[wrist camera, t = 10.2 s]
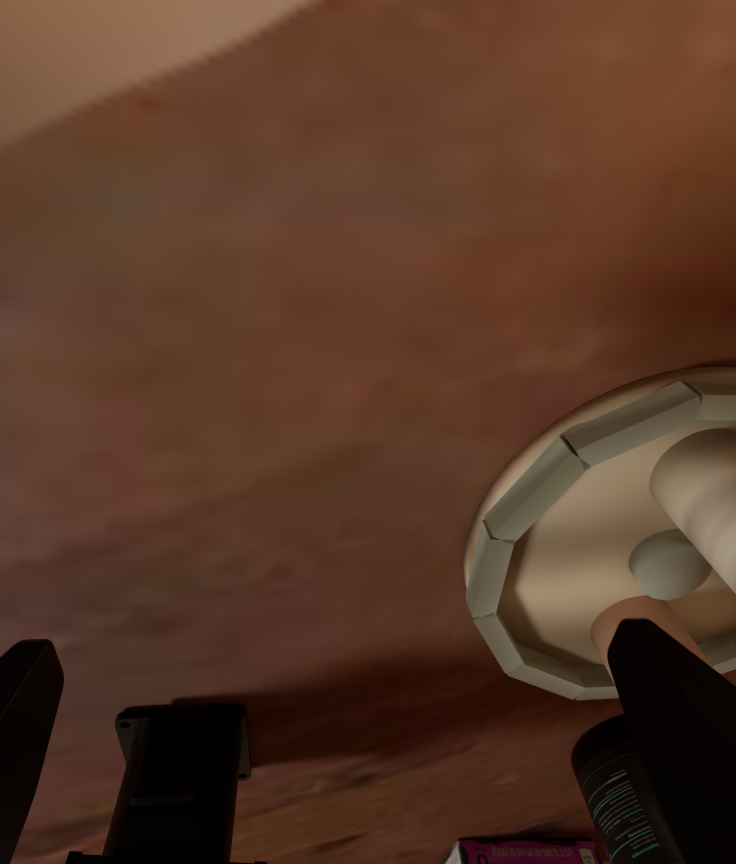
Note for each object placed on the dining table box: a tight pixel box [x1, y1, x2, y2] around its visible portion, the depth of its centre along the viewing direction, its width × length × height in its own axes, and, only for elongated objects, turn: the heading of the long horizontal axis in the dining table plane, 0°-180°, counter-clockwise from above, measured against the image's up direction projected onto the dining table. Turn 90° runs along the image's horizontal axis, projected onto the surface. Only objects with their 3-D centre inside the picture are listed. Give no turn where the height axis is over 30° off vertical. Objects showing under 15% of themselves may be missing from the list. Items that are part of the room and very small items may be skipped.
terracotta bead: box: [590, 596, 714, 684], centre depth 25 cm, size 4×4×5 cm
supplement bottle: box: [571, 716, 685, 864], centre depth 29 cm, size 7×7×12 cm
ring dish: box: [463, 366, 736, 700], centre depth 24 cm, size 17×17×2 cm
